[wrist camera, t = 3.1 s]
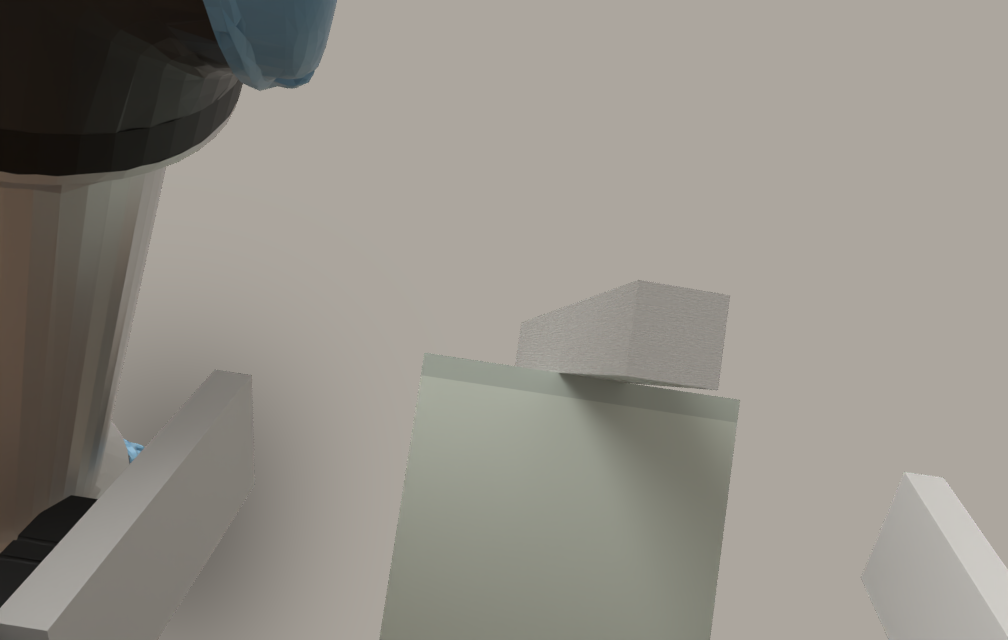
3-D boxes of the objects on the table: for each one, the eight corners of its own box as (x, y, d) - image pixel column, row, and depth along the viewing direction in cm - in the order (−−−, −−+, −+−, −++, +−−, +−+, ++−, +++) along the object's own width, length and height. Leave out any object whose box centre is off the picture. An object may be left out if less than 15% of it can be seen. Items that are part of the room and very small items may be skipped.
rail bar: (717, 390, 24) (729, 295, 24) (625, 375, 24) (638, 280, 24) (561, 378, 48) (568, 330, 48) (514, 370, 48) (521, 322, 48)
